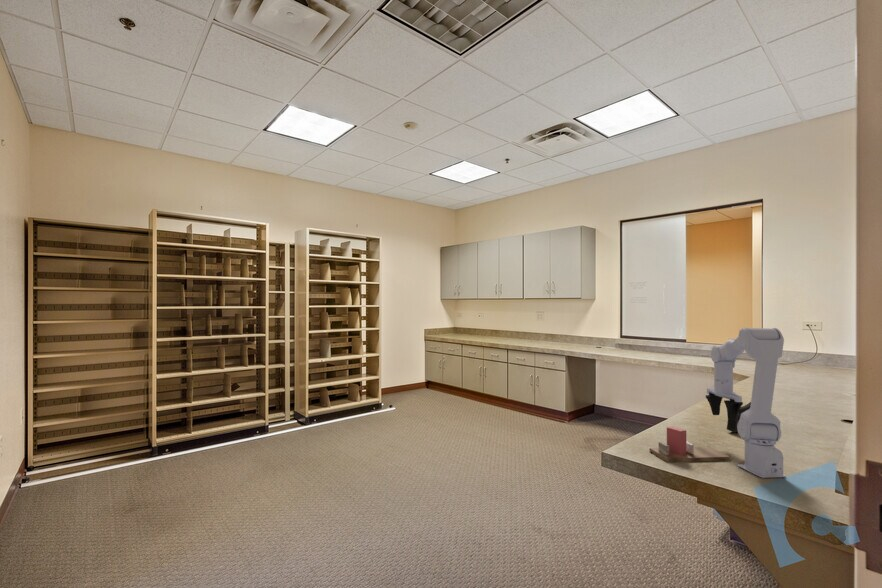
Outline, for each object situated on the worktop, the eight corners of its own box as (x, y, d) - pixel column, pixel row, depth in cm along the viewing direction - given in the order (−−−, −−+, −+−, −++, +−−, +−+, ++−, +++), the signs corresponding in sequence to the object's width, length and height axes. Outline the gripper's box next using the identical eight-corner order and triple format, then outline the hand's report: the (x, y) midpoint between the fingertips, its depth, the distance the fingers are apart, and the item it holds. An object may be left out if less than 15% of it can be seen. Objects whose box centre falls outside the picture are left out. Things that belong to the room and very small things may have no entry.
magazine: (733, 413, 169) (760, 383, 186) (724, 411, 172) (751, 382, 189) (738, 452, 172) (764, 419, 189) (729, 450, 174) (755, 418, 191)
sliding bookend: (685, 449, 148) (685, 440, 148) (693, 453, 144) (693, 444, 144) (682, 449, 147) (682, 440, 148) (690, 453, 143) (690, 444, 144)
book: (686, 454, 144) (686, 430, 144) (680, 455, 142) (680, 431, 142) (672, 449, 148) (672, 426, 148) (666, 450, 147) (666, 427, 147)
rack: (708, 450, 152) (708, 438, 152) (730, 460, 142) (730, 447, 142) (649, 451, 149) (649, 439, 150) (667, 462, 140) (667, 449, 140)
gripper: (749, 383, 149) (750, 423, 149) (719, 376, 163) (719, 412, 163) (730, 383, 148) (731, 423, 148) (701, 376, 163) (701, 412, 162)
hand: (723, 417), depth 156 cm, fingers open, 7 cm apart
